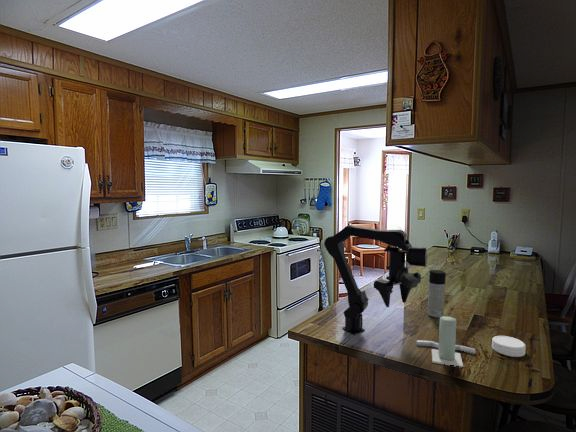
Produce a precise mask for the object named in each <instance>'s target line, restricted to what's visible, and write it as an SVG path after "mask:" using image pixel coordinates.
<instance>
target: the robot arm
mask: <svg viewBox="0 0 576 432" xmlns="http://www.w3.org/2000/svg"><path fill="white" fill-rule="evenodd" d="M350 237H356V238H361V239H366V240H368V239H369V240H373V241H379V242H381V243H384V244H385V245H387V246H386V248H384V249H383V252H388V255H389V256H388V257H389V258H388V265H386V269H387V270H388V275H387V276H386V277H385V279H377V280H375V281H374V282H373V289H375V290H376V291H378V292H379V295H380V296H381V299H382V301H383V303H384V305H385V308H389V307H390V302H391V301H390V299H391V295H392V293H393V292H394V290H393V289H394V286H399V291H400V296H401V301H402V303H404V304H405V303H406V302H407V299H408V297H409V294H410V292H411V290H412V289H414V288H417V286H418V285H419V284H420V283H422V281H421V279H422V277H421V276H422V275H421V273H419V272H409V268H408V267H407V266H406V263H407V264H408V265H409V266H415V267H423V268H425V267H426V268H427V264H428V253H427V252H428V251H427V247H423V246H422V247H415V246H413V245H412V244H411V243H410V241H409V239H408V236H407V234H406V231H404V230H403V229H382V230H381V229H375V228H370V227H363V226H356V225H353V224H349V225H346V226H345V227H344V228H343V229H341V230H340V231H338V232H337V233H335V234H333V235H331V236H328V237H326V238H325V240H324V243H323V245H324V248H325V250H326V251H327V253H328V254H329V255H330V256H331V258H333V260H334V262H335V265H336V267H337V270H338V272H339V274H340V277H341V279H342V282H343V284H344V286H345V287H344V288H345V290H346V292H347V304H348V307H347V308H346V309H345V310H344V311H343V315H344V317H345V318H344V319H345V320H344V326H342V330H344V331H346V332H348V333H350V334H352V335H355V334H358V333H361V332H362V333H363V332H364V331H365V328H363V323H364V322H363V319H364V318H363V314H362V313H363V312H364V311H365V310H366V309H367V308H368V306H369V300H370V299H369V298H368V296H367V293H366V291H365V290H363V291H362V290H361V289H360V288H359V286H358V283H357V282H356V279H355V277H354V274H353V272H352V270H351V267H350V265H349V262H348V260H347V257H346V254H345V253H346V250H345V243H344V242H345V241H347V240H348V239H349V238H350Z"/></svg>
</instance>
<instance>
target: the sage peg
mask: <svg viewBox="0 0 576 432" xmlns="http://www.w3.org/2000/svg"><path fill="white" fill-rule="evenodd" d="M438 329H439V330H438V333H439V334H438V343H439V349H438V350H439V352H438V356H439V357H440V358H441V359H443V360H448V361H452V360H454V359H455V353H456V351H455V345H456V341H457V340H456V337H457V336H456V335H457V319H456V318H455V317H451V316H447V315H446V316H445V315H443V316H442V317H440V318H439V327H438Z"/></svg>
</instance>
